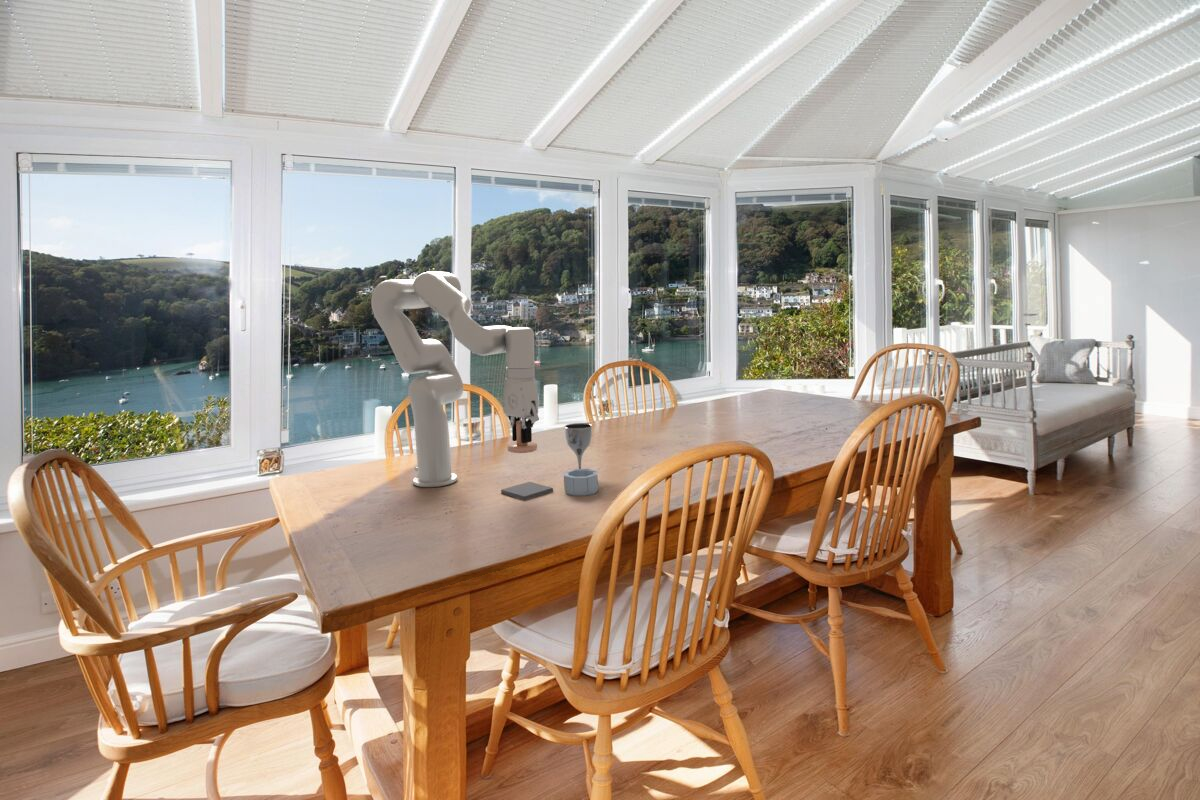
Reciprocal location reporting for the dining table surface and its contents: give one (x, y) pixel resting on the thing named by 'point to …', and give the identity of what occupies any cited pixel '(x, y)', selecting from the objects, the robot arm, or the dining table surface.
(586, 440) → the wine glass
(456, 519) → the dining table surface
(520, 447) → the lid
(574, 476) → the bowl
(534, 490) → the mat
